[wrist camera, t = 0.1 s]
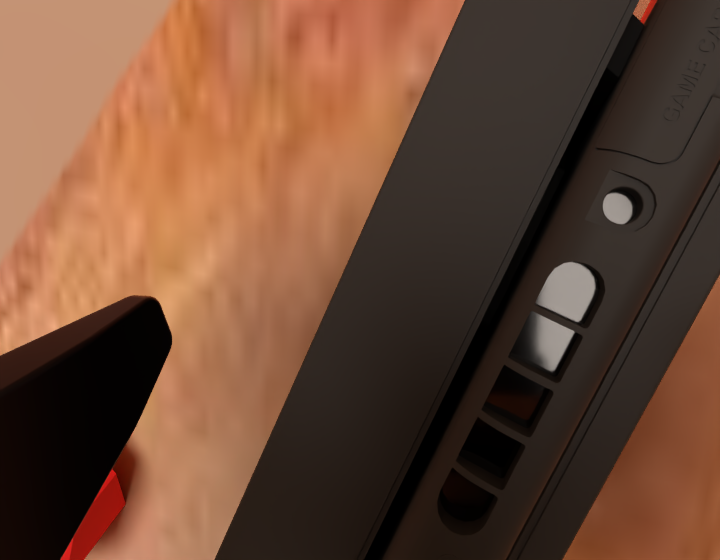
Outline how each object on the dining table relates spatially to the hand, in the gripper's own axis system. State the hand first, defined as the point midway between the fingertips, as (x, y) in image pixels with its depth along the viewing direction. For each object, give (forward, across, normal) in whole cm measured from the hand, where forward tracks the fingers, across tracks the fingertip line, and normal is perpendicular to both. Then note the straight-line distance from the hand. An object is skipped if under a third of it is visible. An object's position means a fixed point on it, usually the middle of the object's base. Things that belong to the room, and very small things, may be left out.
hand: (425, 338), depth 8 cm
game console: (+12, 0, +10) cm, 15 cm away
